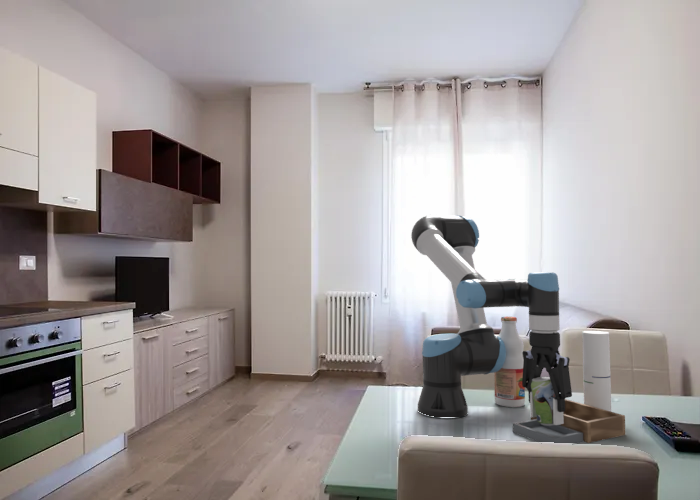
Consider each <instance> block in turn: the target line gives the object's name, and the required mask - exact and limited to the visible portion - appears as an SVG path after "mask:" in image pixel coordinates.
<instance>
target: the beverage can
mask: <svg viewBox="0 0 700 500" xmlns="http://www.w3.org/2000/svg"><path fill="white" fill-rule="evenodd" d="M531 389H532V395H533V400H534V405H535V411H536V416H537V421H538V422H539V423H541V424H542V425H546V426H551V425H554V423H553V397H555V393H554V390H553V387H552V383H551V380H550V377H549V376H541V377H537V378H535V379H534V378H533V379H532V383H531Z"/></svg>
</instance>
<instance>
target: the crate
mask: <svg viewBox="0 0 700 500" xmlns="http://www.w3.org/2000/svg"><path fill="white" fill-rule="evenodd" d="M563 418H564V424H560V425H561V426H564V427H567V428H570V429H573V430H576V431H579V432H582V433H583V443H587V444H591V443H594V442H599V441H604V440H608V439H612V438H617V437H621V436H622V437H623V436H626V416H625V415H624V414H620V413H617V412H614V411H611V412H610V411H607V410H603V409H600V408H596V407H592V406H589V405H585V404H584V403H580V402H579V401H578V402H577V401H574V400H570V399H567V398H565V411H564V412H563ZM533 419H537V417H531V416H530V420H533Z"/></svg>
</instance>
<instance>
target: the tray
mask: <svg viewBox="0 0 700 500" xmlns="http://www.w3.org/2000/svg"><path fill="white" fill-rule="evenodd" d="M512 432H513V433H515V434H517V435H520V436H522V437H525V438H527V439H529V440H531V441H532V440H533V441H534V442H537V443H539V442H554V443H577V444H581V443H584V441H583V433H582V432H579V431H576V430H573V429H570V428H567V427H564V426H561V425H551V426H546V425H542V424H541V423H539V422H538V421H537V419H533V420H531V419H527V420H522V421H517V422H512Z"/></svg>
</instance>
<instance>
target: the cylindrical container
mask: <svg viewBox="0 0 700 500" xmlns="http://www.w3.org/2000/svg"><path fill="white" fill-rule="evenodd" d="M581 334H582V335H581V337H582V338H581V339H582V340H581V341H582V372H583V373H582V374H583V375H582V376H583V377H582V378H583V381H582V382H583V404H585V405H589V406H592V407H596V408H600V409H603V410H607V411H610V412H612V387H611V385H612V383H611V382H612V381H611V380H612V379H611V352H610V351H611V347H610V344H611V343H610V342H611V341H610V339H611V338H610V332H609V331H604V330H603V331H602V330H601V331H600V330H583V331H581Z"/></svg>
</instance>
